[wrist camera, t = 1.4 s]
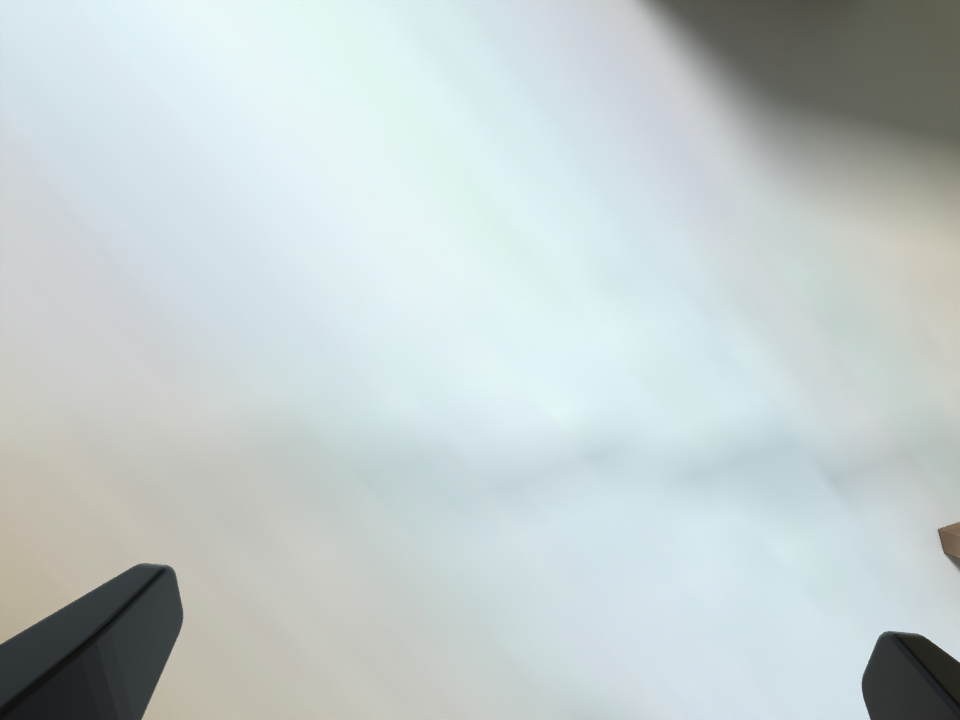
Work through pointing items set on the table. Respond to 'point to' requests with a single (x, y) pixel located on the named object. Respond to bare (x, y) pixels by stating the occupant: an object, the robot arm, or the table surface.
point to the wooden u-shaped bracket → (951, 539)
